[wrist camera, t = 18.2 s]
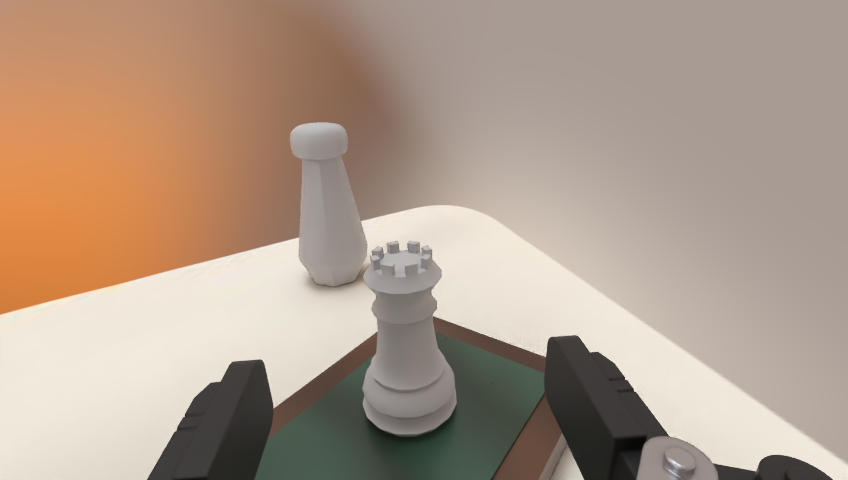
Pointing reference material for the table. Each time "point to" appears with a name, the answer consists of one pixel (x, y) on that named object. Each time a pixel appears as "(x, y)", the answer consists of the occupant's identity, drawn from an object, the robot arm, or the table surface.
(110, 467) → the table surface
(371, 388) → the rook chess piece
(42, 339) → the table surface
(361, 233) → the salt shaker
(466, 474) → the desk board
